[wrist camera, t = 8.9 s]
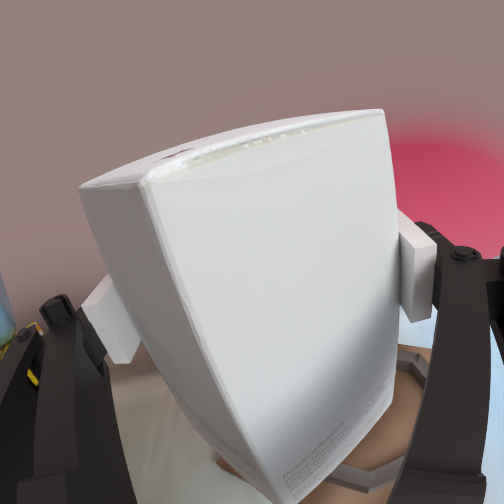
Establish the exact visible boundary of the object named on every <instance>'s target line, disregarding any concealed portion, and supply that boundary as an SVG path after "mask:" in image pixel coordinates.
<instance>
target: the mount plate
mask: <svg viewBox="0 0 504 504" xmlns="http://www.w3.org/2000/svg"><path fill="white" fill-rule="evenodd" d="M431 352H432V349H428V348H422V347H415V346H408V345H402V344H398V350H397V362H396V373H395V381H394V390H393V399H392V403H391V404H390V406H389V407H388V408H387V410H386V411H385V412H384V413H383V415H382V416H381V417H380V419H379V420H378V421H377V422H376V423H375V425H374V426H373V427H372V428H371V430H370V431H369V432H368V433H367V434H366V436H365V437H364V438H363V439H362V440H361V441H360V442H359V444H358V445H357V446H356V447H355V448H354V449H353V450H352V451H351V452H350V454H349V455H348V456H347V457H346V458H345V459H344V460H343V461H342V462H341V463H340V464H339V465H338V466H337V467H336V468H335V469H334V470H333V471H332V472H331V473H330V474H329V475H328V476H327V477H326V478H325V479H324V480H323V481H322V482H321V483H320V484H319V485H318V486H317V487H316V488H315V489H313V490H312V491H311V492H310V493H309V494H308V495H307V496H306V497H305V498H303V499H302V500H301V501H300V502H299V503H298V504H386V502H387V500H388V498H389V496H390V493H391V491H392V488H393V486H394V483H395V481H396V478H397V476H398V473H399V470H400V468H401V465H402V462H403V459H404V457H405V454H406V451H407V448H408V445H409V442H410V438H411V435H412V432H413V429H414V425H415V422H416V418H417V414H418V411H419V407H420V403H421V399H422V395H423V391H424V387H425V382H426V378H427V373H428V368H429V363H430V358H431ZM217 464H218V465H219V466H220V468H222V469H224V470H226V471H227V472H229V473H231V474H233V475H235V476H237V477H239V478H240V479H242V480H244V481H246V482H248V481H247V480H246V479H244V478H243V477H242V476H241V475H240V474H239V473H238V472H237V471H236V470H235V469H234V468H232V467H231V466H230V465H229V464H228V463H227V462H226V461H225V460H224V459H223V458H222V457H220V459H219V460H218V461H217ZM248 483H249V482H248Z"/></svg>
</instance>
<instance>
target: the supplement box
mask: <svg viewBox="0 0 504 504" xmlns="http://www.w3.org/2000/svg"><path fill="white" fill-rule="evenodd" d="M78 191H79V194H80V198H81V201H82V204H83V207H84V210H85V213H86V216H87V219H88V222H89V224H90V227H91V230H92V233H93V236H94V238H95V241H96V244H97V246H98V249H99V251H100V253H101V256H102V258H103V261H104V263H105V265H106V268H107V270H108V272H109V274H110V277H111V279H112V281H113V283H114V285H115V288H116V290H117V292H118V294H119V296H120V298H121V300H122V302H123V304H124V307H125V309H126V311H127V313H128V315H129V317H130V319H131V321H132V323H133V325H134V327H135V328H136V330H137V332H138V334H139V336H140V338H141V340H142V342H143V344H144V345H145V347H146V349H147V351H148V353H149V355H150V356H151V358H152V360H153V362H154V363H155V365H156V367H157V369H158V370H159V372H160V374H161V375H162V377H163V379H164V380H165V382H166V384H167V385H168V387H169V389H170V390H171V392H172V394H173V395H174V397H175V399H176V401H177V402H178V404H179V405H180V407H181V409H182V410H183V412H184V413H185V415H186V416H187V418H188V420H189V421H190V423H191V424H192V425H193V427H194V428H195V429H196V430H197V431H198V432H199V434H200V435H201V436H202V437H203V438H204V439H205V440H206V441H207V442H208V443H209V445H210V446H211V447H212V448H213V449H214V450H215V451H216V452H217V453H218V454H219V455H220V456H221V457H222V458H223V459H224V460H225V461H226V462H227V463H228V464H229V465H230V466H231V467H232V468H234V469H235V470H236V471H237V472H238V473H239V474H240V475H241V476H242V477H243V478H244V479H246V480H247V481H248V482H249V483H250V484H251V485H252V486H253V487H255V488H256V489H257V490H258V491H259V492H260V493H262V494H263V495H264V496H265V497H266V498H268V499H269V500H270V501H271V502H273V503H274V504H298V503H299V502H300V501H301V500H302V499H303V498H305V497H306V496H307V495H308V494H309V493H310V492H311V491H312V490H313V489H315V488H316V487H317V486H318V485H319V484H320V483H321V482H322V481H323V480H324V479H325V478H326V477H327V476H328V475H329V474H330V473H331V472H332V471H333V470H334V469H335V468H336V467H337V466H338V465H339V464H340V463H341V462H342V461H343V460H344V459H345V458H346V457H347V456H348V455H349V454H350V452H351V451H352V450H353V449H354V448H355V447H356V446H357V445H358V444H359V442H360V441H361V440H362V439H363V438H364V437H365V436H366V434H367V433H368V432H369V431H370V430H371V428H372V427H373V426H374V425H375V423H376V422H377V421H378V420H379V419H380V417H381V416H382V415H383V413H384V412H385V411H386V410H387V408H388V407H389V406H390V404H391V403H392V399H393V390H394V381H395V373H396V362H397V350H398V333H399V311H400V251H399V229H398V215H397V204H396V192H395V183H394V173H393V166H392V159H391V151H390V145H389V137H388V131H387V125H386V121H385V115H384V111H383V110H382V109H369V110H354V111H345V112H344V111H343V112H333V113H325V114H316V115H309V116H301V117H295V118H288V119H283V120H277V121H271V122H266V123H261V124H257V125H252V126H247V127H243V128H238V129H234V130H230V131H227V132H223V133H219V134H216V135H212V136H208V137H205V138H201V139H198V140H195V141H192V142H188V143H185V144H182V145H179V146H176V147H173V148H170V149H167V150H164V151H161V152H158V153H155V154H153V155H150V156H147V157H145V158H142V159H140V160H137V161H134V162H132V163H129V164H127V165H124V166H122V167H119V168H117V169H115V170H112V171H110V172H108V173H106V174H104V175H101V176H99V177H97V178H94V179H92V180H90V181H88V182H86V183H84V184H82V185H81V186H80V187H79V188H78Z"/></svg>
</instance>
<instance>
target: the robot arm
mask: <svg viewBox="0 0 504 504" xmlns="http://www.w3.org/2000/svg"><path fill="white" fill-rule="evenodd" d="M397 215H398V229H399V251H400V305H401V306H402V308H403V310H404V312H405V313H406V315H407V317H408V319H409V320H410V322H411V323H414V322H417V321H421V320H425V319H429V318H431V312H432V303H433V305H434V306H435V308H436V309H437V311H438V313H437V320H436V326H435V332H434V340H433V346H432V352H431V358H430V363H429V368H428V373H427V378H426V382H425V387H424V391H423V395H422V399H421V403H420V407H419V411H418V414H417V418H416V422H415V425H414V429H413V432H412V435H411V438H410V442H409V445H408V448H407V451H406V454H405V457H404V459H403V462H402V465H401V468H400V470H399V473H398V476H397V478H396V481H395V483H394V486H393V488H392V491H391V493H390V496H389V498H388V500H387V502H386V504H483V502H484V498H485V492H486V485H487V484H486V476H484V475H483V474H482V473H481V465H482V458H483V452H484V446H485V439H486V431H487V423H488V413H489V400H490V379H491V343H490V326H491V328H492V331H493V334H494V337H495V339H496V342H497V345H498V348H499V351H500V354H501V358H502V361H503V364H504V247H502V249H501V254H500V259H482V256H481V254H480V253H479V252H478V251H477V250H475V249H473V248H470V247H466V246H454V245H453V244H452V243H451V242H450V241H449V240H448V239H446V238H445V237H444V236H442V234H441V233H439V232H437V230H436V229H435V228H434V227H432V226H431V225H429V224H427V223H424V222H421V221H420V222H415V223H413V222H412V221H411V220H410V219H409V218H407V216H405V215H404V214H403V213H402V212H401V211H400V210H399V209H397ZM39 311H40V313H41V315H42V317H43V318H44V320H45V322H46V324H47V325H48V327H49V332H48V333H47V334H44V335H40V334H39V332H38V330H37V329H36V327H34V326H29V327H27V328H23V329H21V330H20V331H19V332H18V334H17V335H16V336H15V337H14V338H13V336H14V334H15V330H16V324H15V318H14V314H13V311H12V307H11V304H10V301H9V298H8V295H7V292H6V289H5V286H4V283H3V280H2V277H1V274H0V348H1V347H2V346H4V345H5V344H6V343H8V342H9V341H10V340H11V339H12V338H13V340H12V342H11V343H10V345H9V347H8V349H7V350H6V352H5V354H4V356H3V357H2V359H1V361H0V504H138V503H137V500H136V497H135V494H134V490H133V487H132V483H131V480H130V476H129V472H128V469H127V465H126V461H125V457H124V452H123V448H122V444H121V439H120V434H119V430H118V425H117V419H116V414H115V409H114V403H113V397H112V390H111V384H110V376H109V369H108V366H107V364H106V362H105V361H104V357H105V355H106V354H107V353H108V354H109V356H110V358H111V359H112V361H113V362H114V364H124V363H131V361H132V358H133V356H134V354H135V352H136V350H137V348H138V346H139V344H140V342H141V338H140V336H139V334H138V332H137V330H136V328H135V327H134V325H133V323H132V321H131V319H130V317H129V315H128V313H127V311H126V309H125V307H124V304H123V302H122V300H121V298H120V296H119V294H118V292H117V290H116V288H115V285H114V283H113V281H112V279H111V277H110V274H109V273H108V274H107V275H106V276H105V277H104V279H103V280H102V281H101V282H100V283H99V284H98V286H97V287H96V288H95V289H94V291H93V292H92V293H91V294H90V296H89V297H88V298H87V299H86V300H85V302H84V303H83V304H82V305H81V307H80V308H79V309H78V311H77V312H75V310H74V308H73V306H72V304H71V302H70V300H69V298H68V297H67V295H65V294H61V295H57V296H55V297H53V298H51V299H49V300H48V301H46V302H45V303H44V304H43V305H42V306H41V308H40V309H39ZM29 369H30V371H31V372H32V374H33V375H34V376H35V378H36V379H37V380H38V384H37V385H35V384H34V383H33V382H32V380H31V379H30V378H29V376H28V375H27V374H28V370H29Z"/></svg>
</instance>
